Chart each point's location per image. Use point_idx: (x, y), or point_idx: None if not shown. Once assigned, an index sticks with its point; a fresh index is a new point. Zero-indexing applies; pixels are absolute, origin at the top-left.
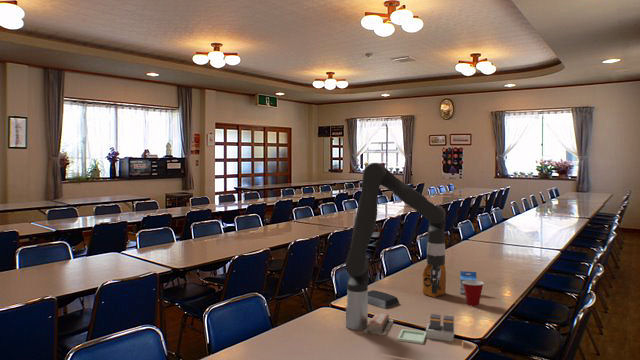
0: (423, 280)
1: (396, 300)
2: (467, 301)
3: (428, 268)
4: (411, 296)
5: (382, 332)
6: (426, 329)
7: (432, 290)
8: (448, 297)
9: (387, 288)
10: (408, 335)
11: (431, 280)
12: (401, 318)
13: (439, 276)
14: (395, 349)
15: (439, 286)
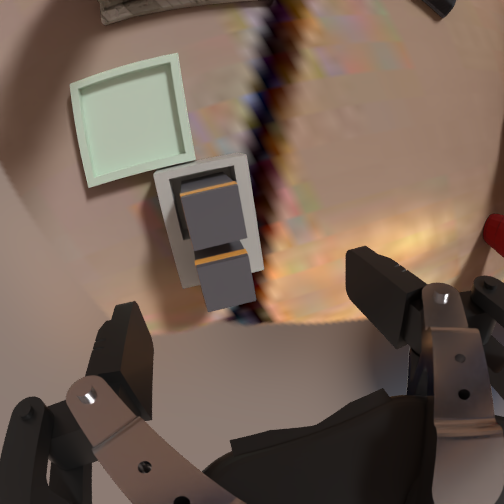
0: None
1: (443, 6)
2: (494, 219)
3: None
4: (492, 59)
5: (110, 7)
6: (158, 175)
7: (96, 339)
8: None
9: (497, 4)
10: (141, 97)
11: (10, 452)
12: (330, 21)
13: (406, 394)
14: (16, 119)
15: None
